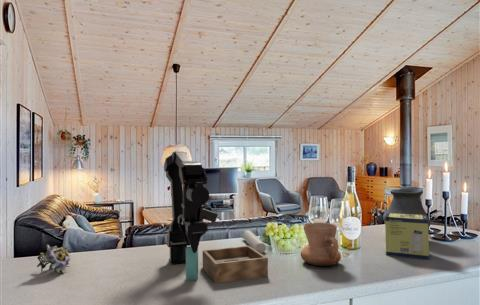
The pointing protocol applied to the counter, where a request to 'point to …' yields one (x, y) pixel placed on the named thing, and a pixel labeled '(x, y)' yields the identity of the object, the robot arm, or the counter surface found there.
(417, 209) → the dark grey flared piece
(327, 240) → the ceramic jug
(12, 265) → the counter surface
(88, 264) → the counter surface
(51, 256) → the passion flower
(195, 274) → the peg
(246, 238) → the tube
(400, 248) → the protein box
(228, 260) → the box
